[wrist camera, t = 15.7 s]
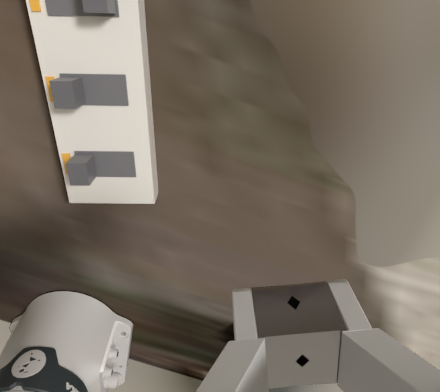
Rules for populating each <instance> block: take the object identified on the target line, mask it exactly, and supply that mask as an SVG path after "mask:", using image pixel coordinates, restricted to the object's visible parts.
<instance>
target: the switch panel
mask: <svg viewBox="0 0 440 392" xmlns="http://www.w3.org/2000/svg"><path fill="white" fill-rule="evenodd" d="M26 4H27V8H28V13H29V18H30V22H31V27H32V32H33V36H34V41H35V45H36V50H37V55H38V59H39V64H40V69H41V73H42V78H43V82H44V87H45V92H46V96H47V101H48V106H49V110H50V115H51V119H52V124H53V129H54V133H55V138H56V143H57V147H58V152H59V157H60V161H61V166H62V170H63V175H64V180H65V184H66V189H67V194H68V198H69V203H126V204H155V201H156V198H157V195H158V181H157V167H156V154H155V140H154V127H153V114H152V100H151V87H150V73H149V60H148V47H147V33H146V20H145V7H144V0H115V8H116V14H111V13H86V12H84V9H83V3H82V0H26ZM59 77H81V79H82V85H83V91H84V97H85V104H84V105H82V106H80V107H79V108H77V109H55V107H54V102H53V97H52V92H51V88H50V83H49V81H50V80H53V79H56V78H59ZM74 155H94V160H95V166H96V172H97V177H96V178H95V179H94V181H93V182H92V183H91V185H90V186H73V185H70V181H69V176H68V172H67V167H66V163H67V162H68V161H69V160H70V159H71V158H72V157H73V156H74Z"/></svg>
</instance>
